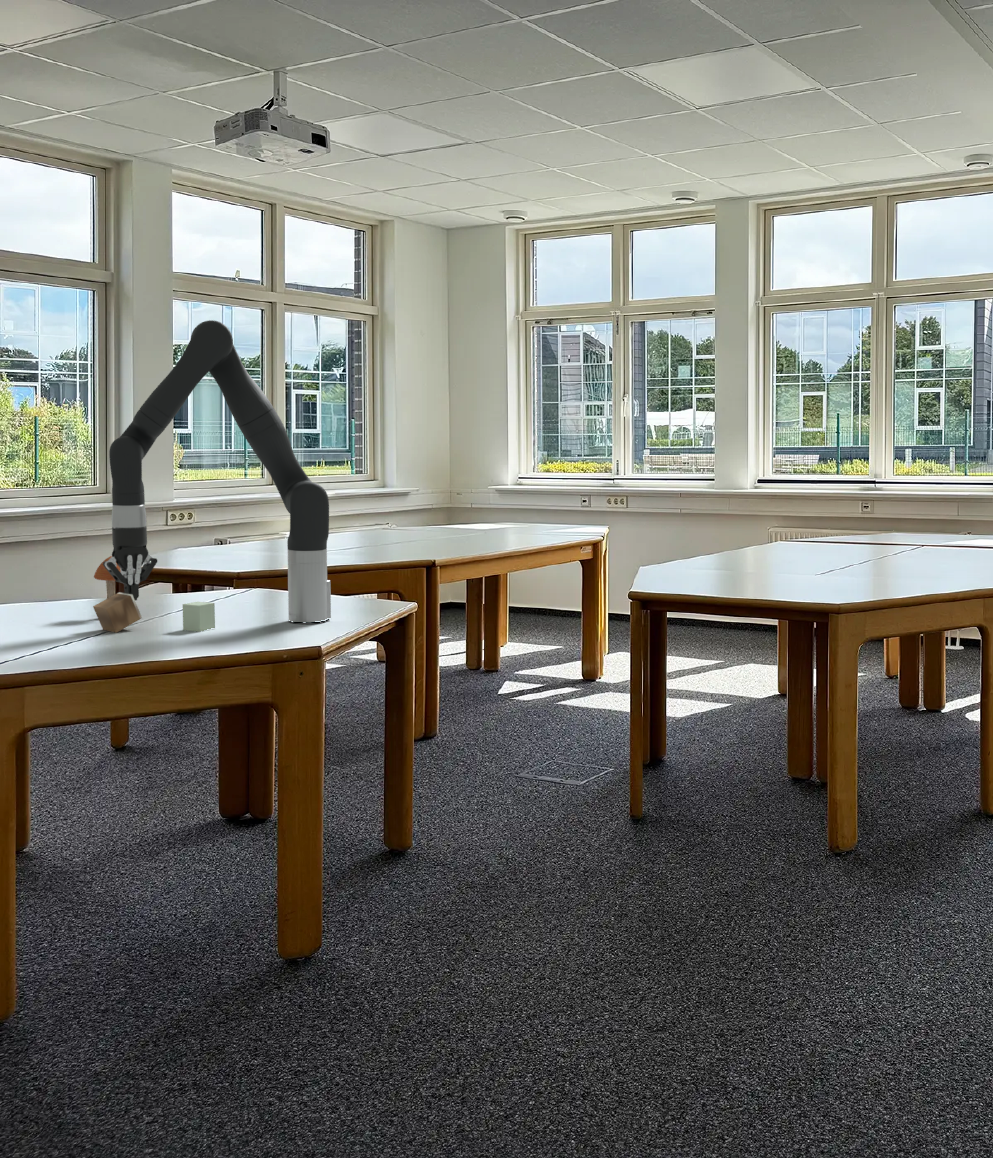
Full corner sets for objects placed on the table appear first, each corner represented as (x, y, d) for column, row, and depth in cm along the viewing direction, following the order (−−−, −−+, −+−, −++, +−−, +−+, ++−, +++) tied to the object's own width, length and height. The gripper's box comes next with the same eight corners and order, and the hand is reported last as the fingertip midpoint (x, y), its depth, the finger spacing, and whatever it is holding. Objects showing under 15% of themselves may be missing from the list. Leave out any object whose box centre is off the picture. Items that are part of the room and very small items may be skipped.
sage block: (198, 627, 272) (197, 601, 272) (215, 629, 270) (214, 603, 269) (183, 630, 268) (182, 604, 267) (200, 632, 266) (199, 605, 265)
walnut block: (119, 592, 270) (92, 606, 266) (132, 594, 266) (106, 609, 262) (128, 615, 273) (103, 629, 268) (142, 618, 269) (116, 632, 264)
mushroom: (118, 620, 282) (117, 557, 281) (88, 619, 284) (86, 557, 282) (135, 615, 290) (133, 554, 288) (105, 614, 292) (103, 554, 290)
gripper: (146, 522, 275) (148, 596, 277) (93, 525, 266) (96, 601, 268) (164, 524, 270) (166, 599, 272) (111, 527, 261) (113, 605, 263)
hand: (131, 600), depth 270 cm, fingers closed
